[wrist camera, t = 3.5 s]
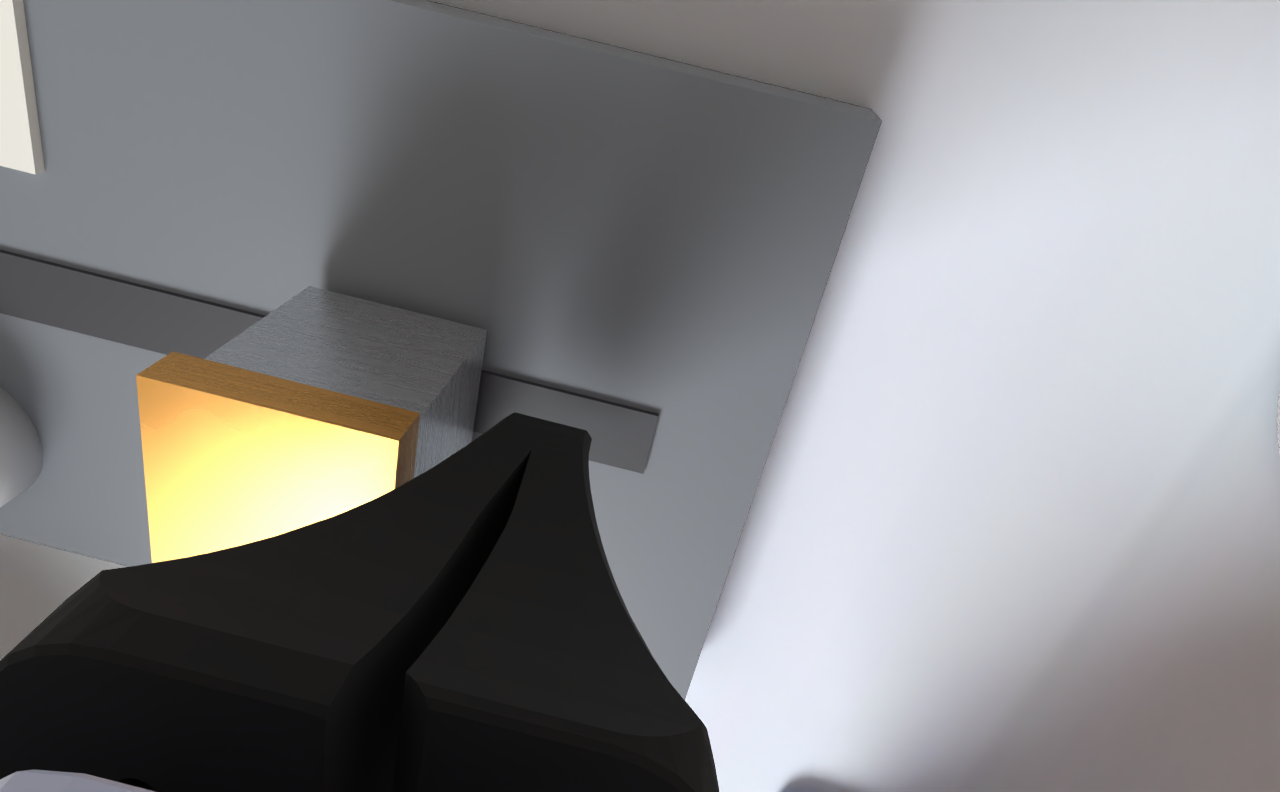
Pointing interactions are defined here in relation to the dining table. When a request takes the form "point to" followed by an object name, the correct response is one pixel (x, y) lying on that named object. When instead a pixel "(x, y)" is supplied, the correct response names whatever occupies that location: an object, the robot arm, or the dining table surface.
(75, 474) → the console board
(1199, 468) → the dining table surface
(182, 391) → the fader tab
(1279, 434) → the fruit juice
